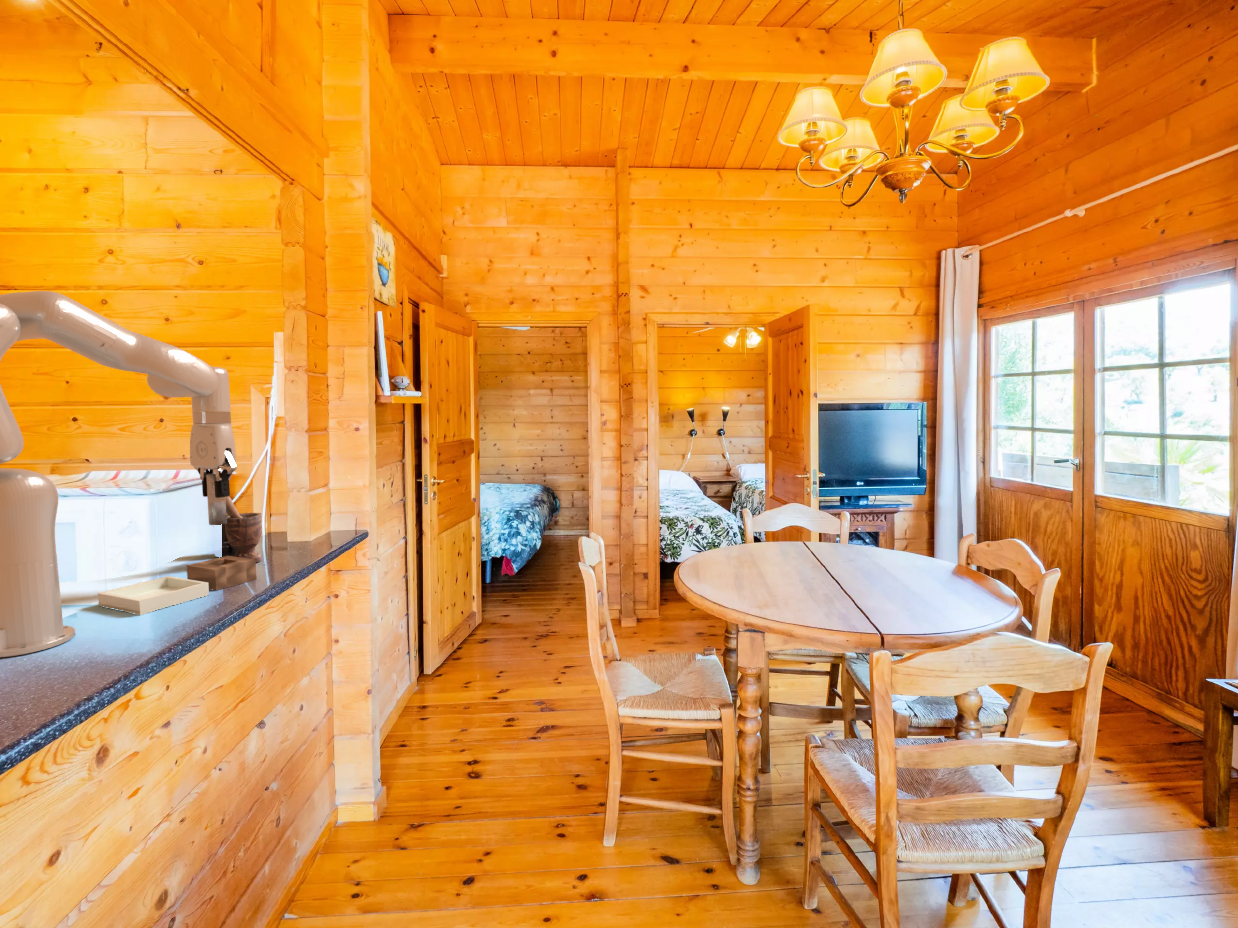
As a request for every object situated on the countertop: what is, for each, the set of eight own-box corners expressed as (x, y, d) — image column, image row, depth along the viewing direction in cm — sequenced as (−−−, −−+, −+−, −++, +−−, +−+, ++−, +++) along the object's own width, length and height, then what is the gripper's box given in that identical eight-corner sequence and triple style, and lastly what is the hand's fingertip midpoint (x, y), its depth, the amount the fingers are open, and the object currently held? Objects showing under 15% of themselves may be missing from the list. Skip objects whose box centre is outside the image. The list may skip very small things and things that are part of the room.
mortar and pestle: (252, 568, 158) (247, 493, 156) (215, 570, 156) (211, 494, 154) (268, 557, 169) (264, 487, 167) (235, 559, 167) (230, 488, 166)
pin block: (216, 590, 139) (215, 569, 138) (187, 585, 142) (186, 565, 142) (256, 579, 148) (255, 559, 148) (228, 575, 152) (227, 555, 151)
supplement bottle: (228, 558, 168) (226, 516, 167) (208, 557, 169) (205, 515, 168) (248, 553, 175) (245, 512, 174) (228, 551, 176) (225, 511, 175)
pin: (215, 525, 141) (212, 475, 140) (205, 524, 143) (202, 474, 142) (230, 522, 145) (227, 473, 144) (220, 521, 146) (217, 473, 145)
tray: (140, 615, 122) (139, 601, 122) (99, 606, 128) (97, 593, 127) (209, 595, 135) (208, 582, 135) (169, 588, 140) (168, 576, 140)
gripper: (172, 419, 141) (177, 496, 143) (220, 420, 135) (224, 500, 137) (204, 419, 148) (208, 492, 150) (251, 419, 142) (255, 496, 143)
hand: (216, 495), depth 143 cm, fingers closed on pin, 3 cm apart
